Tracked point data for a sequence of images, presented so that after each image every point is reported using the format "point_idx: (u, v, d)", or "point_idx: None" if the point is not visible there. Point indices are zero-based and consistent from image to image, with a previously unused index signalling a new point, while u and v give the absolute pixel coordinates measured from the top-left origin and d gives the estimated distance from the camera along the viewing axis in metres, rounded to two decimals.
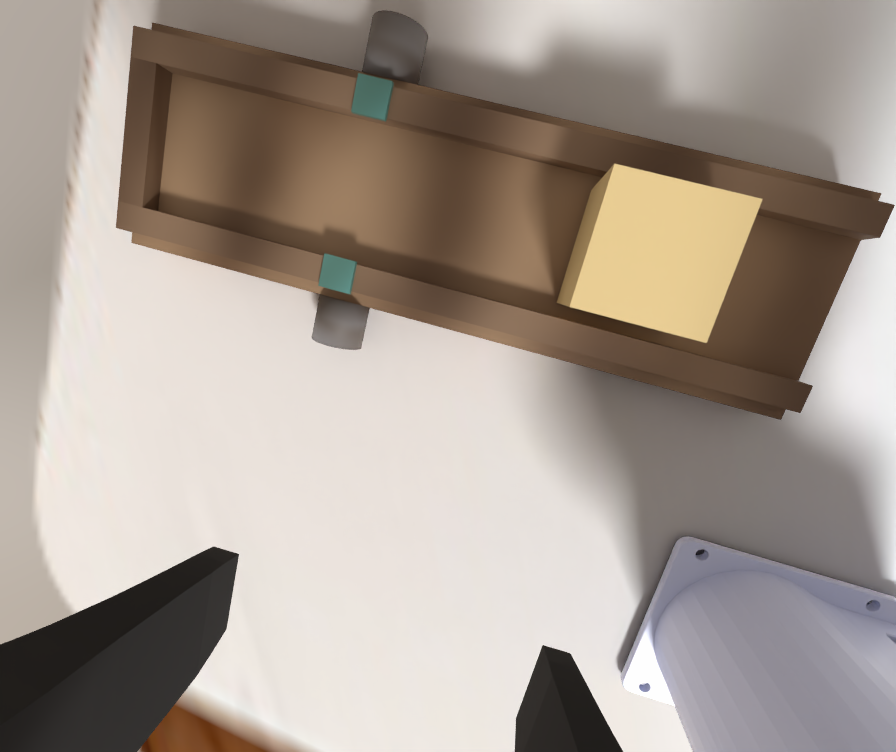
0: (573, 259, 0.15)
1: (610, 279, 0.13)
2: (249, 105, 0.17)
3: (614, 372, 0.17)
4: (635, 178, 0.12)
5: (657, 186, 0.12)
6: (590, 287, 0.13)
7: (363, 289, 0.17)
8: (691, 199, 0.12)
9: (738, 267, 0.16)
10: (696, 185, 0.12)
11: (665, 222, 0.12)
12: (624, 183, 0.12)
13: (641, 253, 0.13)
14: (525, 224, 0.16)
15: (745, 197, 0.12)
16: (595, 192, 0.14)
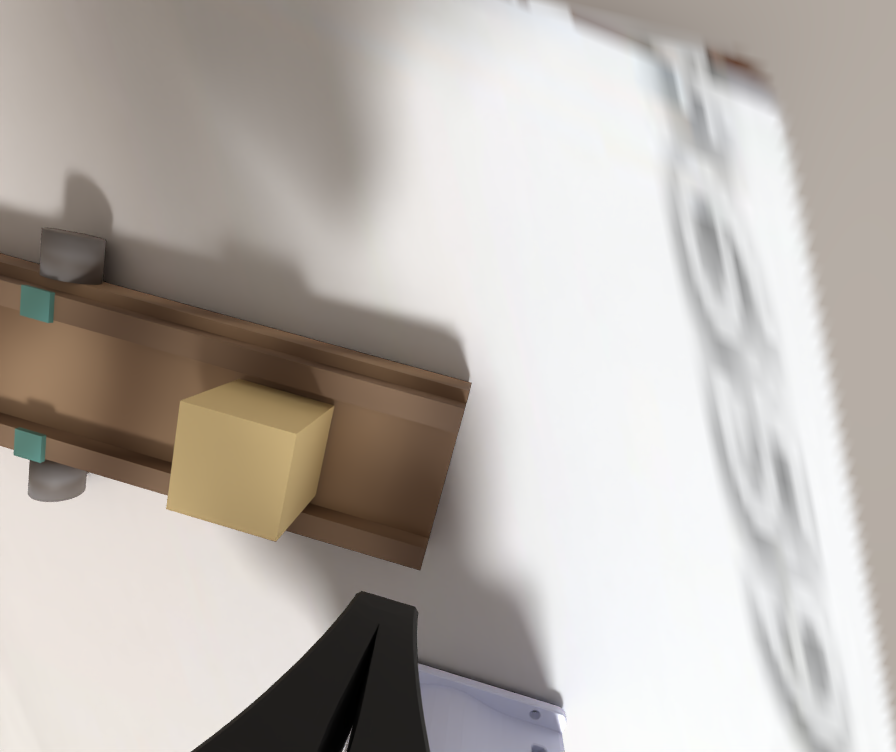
0: None
1: (193, 489, 0.15)
2: None
3: None
4: (198, 412, 0.15)
5: (215, 420, 0.15)
6: (179, 494, 0.15)
7: (54, 457, 0.19)
8: (243, 431, 0.15)
9: (367, 445, 0.18)
10: (244, 420, 0.15)
11: (227, 447, 0.15)
12: (189, 416, 0.15)
13: (213, 470, 0.15)
14: None
15: (282, 432, 0.15)
16: None
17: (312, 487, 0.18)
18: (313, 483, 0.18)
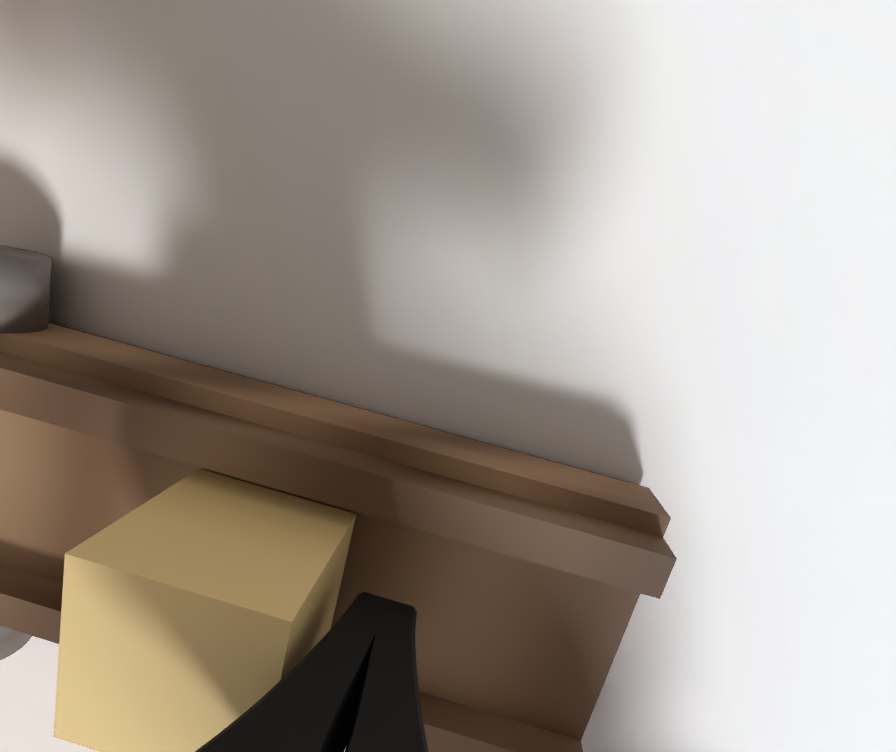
0: None
1: (101, 706, 0.08)
2: None
3: None
4: (101, 576, 0.08)
5: (134, 591, 0.08)
6: (75, 715, 0.08)
7: None
8: (188, 612, 0.08)
9: (485, 597, 0.11)
10: (190, 594, 0.07)
11: (159, 640, 0.08)
12: (85, 581, 0.08)
13: (135, 677, 0.08)
14: None
15: (264, 619, 0.07)
16: None
17: None
18: None
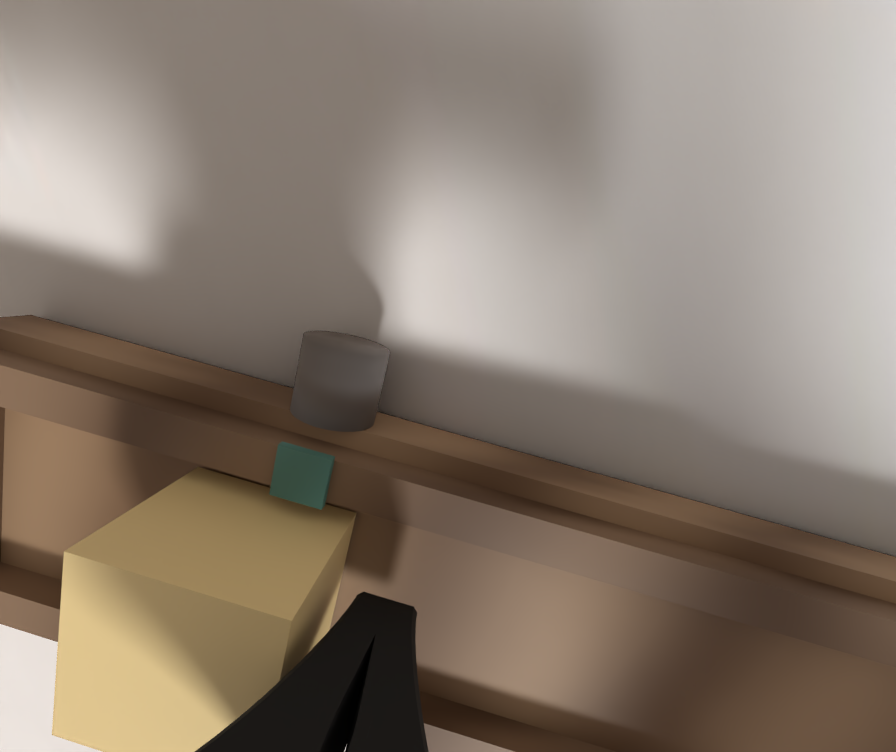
0: None
1: (99, 705, 0.08)
2: None
3: None
4: (100, 574, 0.08)
5: (133, 589, 0.08)
6: (74, 712, 0.08)
7: None
8: (188, 611, 0.08)
9: (855, 707, 0.11)
10: (190, 592, 0.07)
11: (158, 638, 0.08)
12: (84, 579, 0.08)
13: (134, 676, 0.08)
14: (537, 625, 0.11)
15: (264, 617, 0.07)
16: None
17: None
18: None
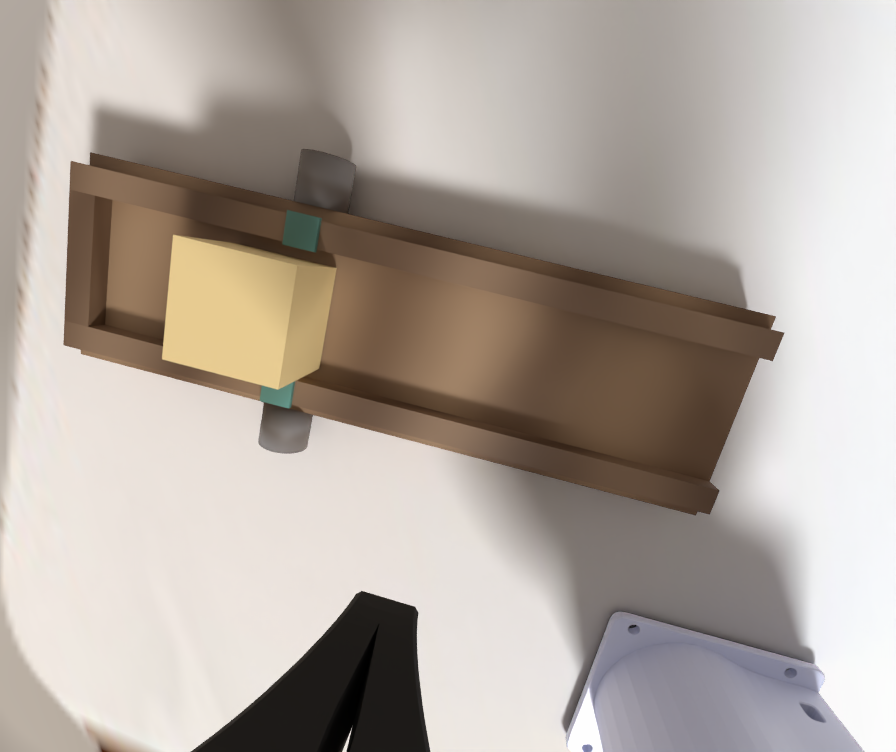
0: None
1: (190, 335, 0.15)
2: (188, 229, 0.17)
3: (542, 473, 0.18)
4: (192, 247, 0.14)
5: (211, 254, 0.14)
6: (175, 342, 0.15)
7: (302, 403, 0.18)
8: (241, 265, 0.14)
9: (650, 380, 0.17)
10: (242, 253, 0.14)
11: (224, 285, 0.14)
12: (184, 251, 0.14)
13: (210, 312, 0.14)
14: (453, 340, 0.17)
15: (282, 264, 0.14)
16: None
17: (315, 354, 0.17)
18: (316, 350, 0.17)
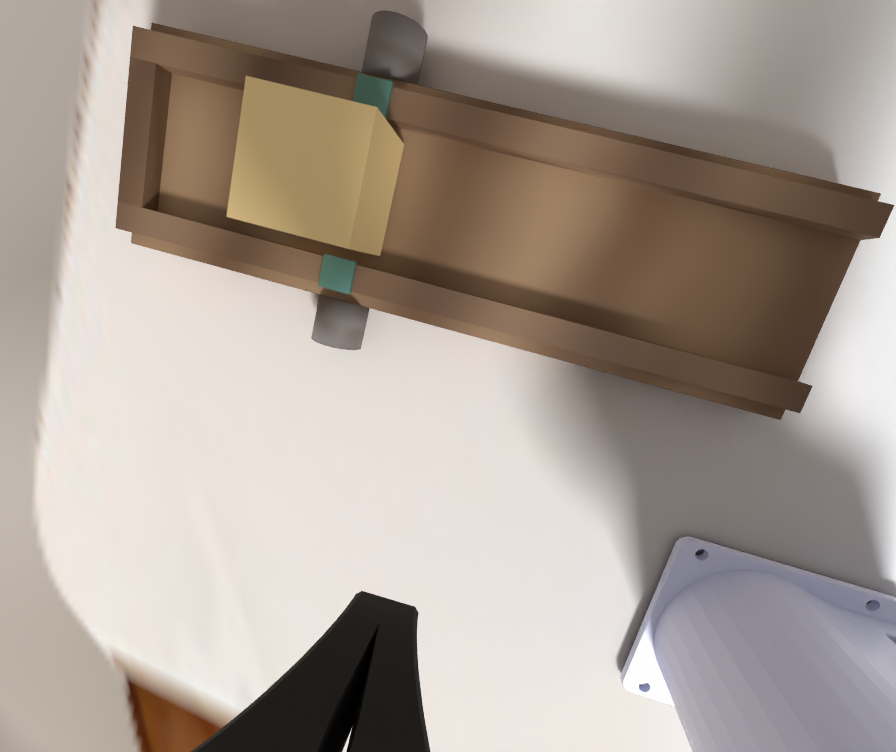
0: None
1: (258, 188, 0.14)
2: None
3: (614, 372, 0.17)
4: (266, 89, 0.13)
5: (285, 97, 0.13)
6: (241, 197, 0.14)
7: (363, 289, 0.17)
8: (316, 109, 0.13)
9: (738, 267, 0.16)
10: (318, 95, 0.13)
11: (297, 131, 0.13)
12: (256, 94, 0.13)
13: (281, 162, 0.13)
14: (524, 224, 0.16)
15: (361, 105, 0.13)
16: None
17: (379, 236, 0.16)
18: (380, 231, 0.16)
